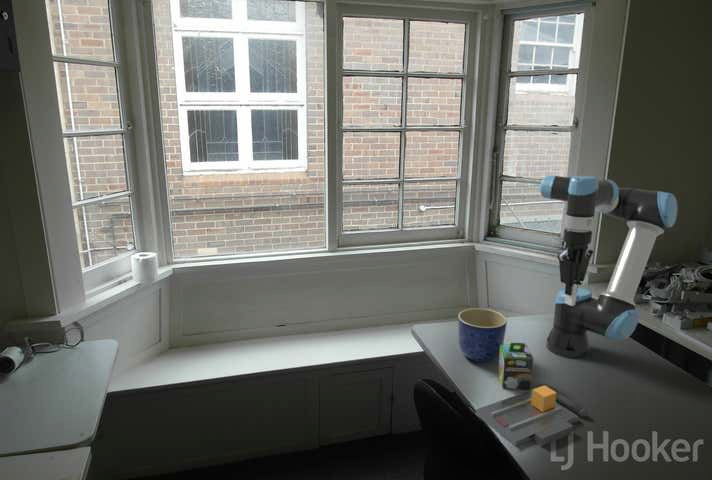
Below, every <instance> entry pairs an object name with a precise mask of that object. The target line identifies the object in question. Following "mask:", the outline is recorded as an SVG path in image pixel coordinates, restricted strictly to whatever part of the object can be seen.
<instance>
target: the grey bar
mask: <svg viewBox="0 0 712 480" xmlns="http://www.w3.org/2000/svg"><path fill="white" fill-rule="evenodd" d="M573 430H574V425H573V424H572V423H571V424H570V423H568V422H567V421H565V422H563V423H560V424H558V425H555V426H553V427H550V428H548V429H546V430H543V431H541V432H538V433H536V434H535V439H533V440H534V443H536V445H539V447H544V446H546V445H549V444H552V443H553V442H555V441H558V440H560V439H562V438H565V437H567V436H569V435H572V434H573Z"/></svg>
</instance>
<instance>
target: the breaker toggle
mask: <svg viewBox="0 0 712 480" xmlns="http://www.w3.org/2000/svg"><path fill="white" fill-rule="evenodd" d="M548 387H549V386H547V385H542V386H538V387H536V388H533V389H532V390H533V391H532V401H531V405H533V406H534V407H536V408H537V409H539V410H540V411H542V412H545V411H547V410H550V409H552V408H555V403H556V402H557V401H556V394H557V393H558V392H557V391H556V390H554V389H553V388H551V387H549V388H548ZM550 388H551V389H550ZM553 390H554V391H553ZM555 391H556V392H555Z"/></svg>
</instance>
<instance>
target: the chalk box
mask: <svg viewBox="0 0 712 480" xmlns="http://www.w3.org/2000/svg"><path fill="white" fill-rule="evenodd" d="M498 358H499V359H498V372H497V373H498V377H499V380H500V384H501V387H502V389H511V390H513V389H514V390H515V389H516V390H527V391H530V390H532V388H531V387H532V379H533V365H534V356H533V354H532V352H531V350H530V348H529V346H528V345H527V344H526V343H525V342H510V343H509V344H503V345H500V354H499V356H498Z"/></svg>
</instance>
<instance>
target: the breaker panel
mask: <svg viewBox="0 0 712 480" xmlns="http://www.w3.org/2000/svg"><path fill="white" fill-rule="evenodd" d="M532 391H533V389H530V390H527V391H525V392H521V393H519V394H516V395H514V396H510V397H507V398H505V399H501V400H499V401H496V402H494V403H490V404H488V405H484V406H482V407H478V408H476V409H475V416H477V417H478V418H480V419H481V420H482V421H483V422H484V423H486V424H487V425H488V426H489V427H490V428H492V429H493V430H494V429H495V432H497V433H498V432H499V433H500V436H502V437H503V438H504V439H506V440H507V441H508V442H509V443H511V444H512V445H513V446H514V447H518V446H520V445H523V444H525V443H528V442H529V441H532V440H534V439H535V434H536V433H538V432H541V431H543V430H546V429H548V428H550V427H553V426H555V425H558V424H560V423H563V422H565V421H567V422H568V423H570V424H571V425H572V424H573V423H575V422H578V420H579V415H578V414H576V413H574V412H573V411H571V410H570V409H568V408H566V407H565V406H563V405H562V404H560V403H559V402H557V401H556V403H555V408H552V409H550V410H547V411H545V412H542V411H540V410H539V409H537V408H536V407H534V406H533V405H531V401H532ZM499 433H498V434H499Z"/></svg>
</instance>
